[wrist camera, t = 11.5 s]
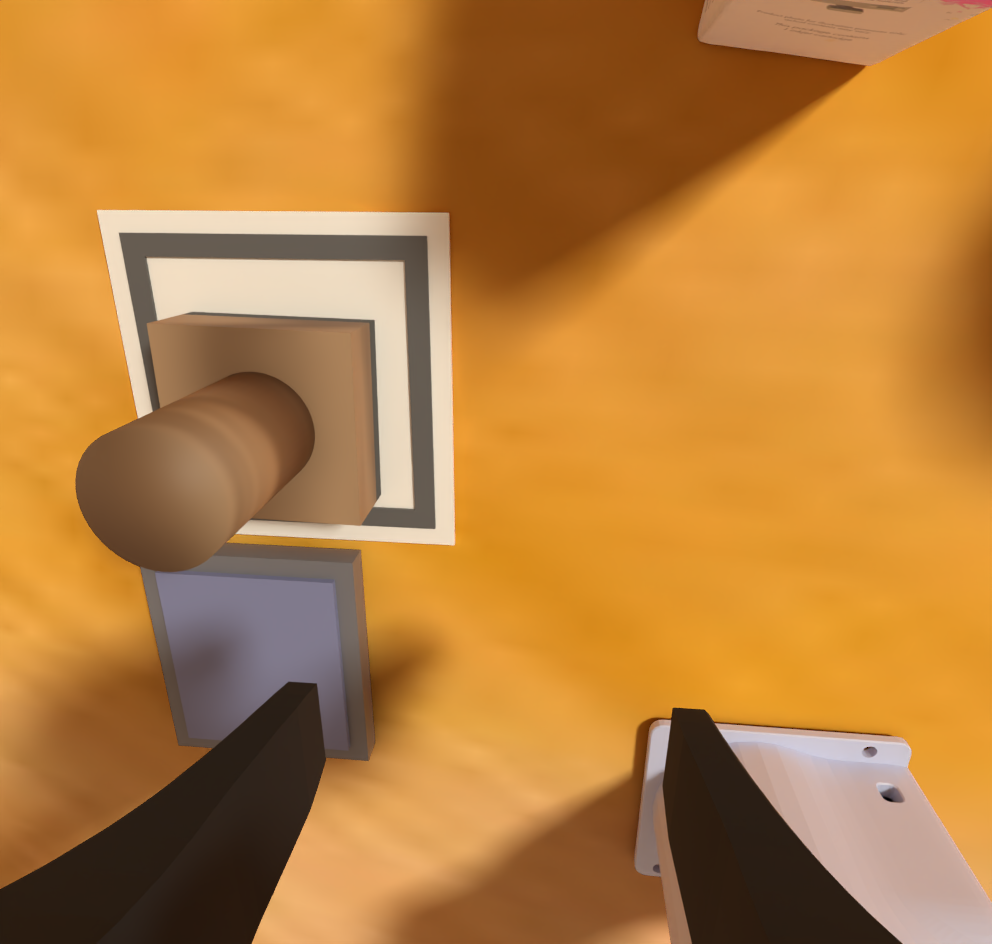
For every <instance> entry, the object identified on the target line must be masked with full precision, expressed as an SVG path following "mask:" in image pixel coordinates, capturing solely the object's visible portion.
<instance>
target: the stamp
mask: <svg viewBox="0 0 992 944" xmlns="http://www.w3.org/2000/svg"><path fill="white" fill-rule="evenodd" d="M147 329H148V335H149V341H150V347H151V354H152V360H153V366H154V372H155V378H156V384H157V390H158V397H159V403H160V409H157V410H155V411H153V412H151V413H149V414H147V415H145V416H143V417H141V418H138V419H136V420H134V421H132V422H130V423H128V424H126V425H124V426H122V427H119V428H117V429H115V430H113V431H111V432H109V433H107V434H105V435H103V436H101V437H99V438H98V439H97V440H95V441H94V442H93V443H92V444H91V445H90V446H89V447H88V448H87V449H86V451H85V452H84V454H83V455H82V457H81V459H80V461H79V464H78V468H77V472H76V494H77V499H78V503H79V506H80V509H81V511H82V514H83V516H84V518H85V520H86V521H87V523H88V525H89V527H90V528H91V529H92V531H93V532H94V534H95V535H96V536H97V537H98V538H99V539H100V540H101V542H103V543H104V544H105V545H106V546H107V547H108V548H109V549H110V550H112V551H113V552H114V553H115V554H117V555H118V556H120V557H121V558H123V559H125V560H126V561H128V562H131V563H133V564H135V565H137V566H140V567H143V568H146V569H150V570H153V571H160V572H179V571H185V570H189V569H192V568H194V567H197V566H199V565H201V564H202V563H204V562H206V561H207V560H208V559H209V558H210V557H212V556H213V555H214V554H215V553H216V552H217V551H218V550H219V549H220V548H221V547H222V546H223V545H224V544H225V543H226V542H227V541H228V540H229V539H230V538H231V537H232V536H233V535H235V534H236V533H237V532H238V531H239V530H240V529H241V528H242V527H243V526H244V525H245V524H246V523H247V522H248V521H249V520H250V519H251V518H256V519H270V520H284V521H298V522H312V523H326V524H341V525H355V526H361V524H362V523H363V521H364V520H365V518H366V517H367V515H368V514H369V512H370V511H371V509H372V508H373V506H374V505H375V503H376V502H377V500H378V499H379V497H380V496H381V477H380V451H379V424H378V397H377V370H376V344H375V320H364V319H342V318H320V317H298V316H275V315H253V314H231V313H209V312H189V313H185V314H182V315H178V316H174V317H170V318H166V319H162V320H158V321H154V322H150V323H147Z"/></svg>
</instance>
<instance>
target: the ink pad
mask: <svg viewBox="0 0 992 944" xmlns="http://www.w3.org/2000/svg"><path fill="white" fill-rule="evenodd" d="M140 568H141V573H142V577H143V582H144V587H145V591H146V596H147V601H148V605H149V610H150V615H151V619H152V624H153V629H154V633H155V638H156V642H157V647H158V652H159V656H160V661H161V666H162V670H163V675H164V680H165V684H166V689H167V694H168V698H169V703H170V707H171V712H172V717H173V721H174V726H175V731H176V735H177V740H178V745H181V746H193V747H205V748H214V747H215V746H216V745H217V744H219V743H220V742H221V741H222V740H223V739H224V738H225V737H227V736H228V735H229V734H230V733H231V732H232V731H234V730H235V729H236V728H237V727H238V726H239V725H240V724H241V723H243V722H244V721H245V720H246V719H247V718H248V717H249V716H250V715H251V714H253V713H254V712H255V711H256V710H257V709H258V708H259V707H260V706H261V705H262V704H264V703H265V702H266V701H267V700H268V699H269V698H270V697H271V696H272V695H274V694H275V693H276V692H277V691H278V690H279V689H280V688H282V687H283V686H284V685H285V684H286V683H287V682H288V681H289V682H304V683H317V688H318V696H319V705H320V713H321V722H322V730H323V739H324V748H325V756H326V757H327V758H339V759H351V760H364V761H369V758H370V756H371V753H372V750H373V747H374V745H375V732H374V719H373V706H372V693H371V680H370V667H369V654H368V640H367V627H366V614H365V601H364V588H363V575H362V561H361V550H352V549H333V548H314V547H296V546H277V545H258V544H240V543H225V544H224V545H223V546H222V547H221V548H220V549H219V550H218V551H217V552H216V553H215V554H214V555H213V556H212V557H210V558H209V559H208V560H207V561H206V562H204V563H202V564H201V565H199V566H197V567H194V568H192V569H189V570H185V571H179V572H160V571H153V570H150V569H146V568H143V567H140Z"/></svg>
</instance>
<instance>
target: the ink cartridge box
mask: <svg viewBox="0 0 992 944" xmlns="http://www.w3.org/2000/svg"><path fill="white" fill-rule="evenodd" d="M990 8H992V0H705V3H704V7H703V11H702V15H701V19H700V24H699V28H698V39H699V41H700V42H704V43H708V44H714V45H722V46H730V47H737V48H745V49H752V50H760V51H768V52H776V53H783V54H790V55H797V56H804V57H811V58H817V59H824V60H831V61H838V62H845V63H852V64H859V65H867V66H871V65H874V64H877V63H879V62H881V61H883V60H885V59H887V58H889V57H891V56H893V55H895V54H897V53H899V52H901V51H903V50H905V49H907V48H909V47H911V46H914V45H916V44H918V43H920V42H922V41H924V40H926V39H928V38H930V37H932V36H934V35H936V34H938V33H940V32H943V31H945V30H947V29H949V28H951V27H953V26H955V25H957V24H959V23H961V22H963V21H965V20H967V19H969V18H972V17H974V16H976V15H978V14H980V13H982V12H984V11H986V10H988V9H990Z"/></svg>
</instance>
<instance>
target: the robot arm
mask: <svg viewBox="0 0 992 944" xmlns="http://www.w3.org/2000/svg"><path fill="white" fill-rule="evenodd" d="M866 747H870V748H869V749H865V750H863V749H864V748H866ZM911 751H912V750H911V748H910V747H909V745H908V744H907V742H906V740H904V739H903V738H900V737H894V736H881V735H867V734H853V733H840V732H826V731H812V730H799V729H785V728H772V727H758V726H744V725H731V724H717V723H714V722H713V720H712V718H711V717H710V715H709V714H708V713H707V712H706V711H705V710H700V709H686V708H673V710H672V718H671V720H657V721H655V722H653V723H652V724H651V726H650V728H649V735H648V744H647V752H646V761H645V770H644V778H643V787H642V795H641V804H640V812H639V821H638V830H637V838H636V847H635V855H634V863H635V869H636V870H637V872H639V873H641V874H643V875H649V876H660V877H661V880H662V886H663V893H664V900H665V907H666V914H667V920H668V927H669V934H670V941H671V944H992V902H991V901H990V899H989V897H988V896H987V894H986V893H985V891H984V889H983V888H982V886H981V884H980V883H979V881H978V880H977V878H976V876H975V875H974V873H973V872H972V870H971V868H970V867H969V865H968V864H967V862H966V860H965V859H964V857H963V856H962V854H961V852H960V851H959V849H958V848H957V846H956V844H955V843H954V841H953V840H952V838H951V836H950V835H949V833H948V832H947V830H946V828H945V827H944V825H943V824H942V822H941V820H940V819H939V817H938V815H937V814H936V812H935V811H934V809H933V807H932V806H931V804H930V803H929V801H928V799H927V798H926V796H925V795H924V793H923V791H922V790H921V788H920V787H919V785H918V783H917V782H916V780H915V779H914V777H913V775H912V774H911V772H910V771H909V769H908V768H907V767H908V764H909V760H910V757H911ZM325 761H326V756H325V748H324V739H323V730H322V722H321V713H320V705H319V696H318V688H317V683H304V682H289V681H288V682H287V683H286V684H285V685H284V686H283V687H282V688H280V689H279V690H278V691H277V692H276V693H275V694H274V695H272V696H271V697H270V698H269V699H268V700H267V701H266V702H265V703H264V704H262V705H261V706H260V707H259V708H258V709H257V710H256V711H255V712H254V713H253V714H251V715H250V716H249V717H248V718H247V719H246V720H245V721H244V722H243V723H241V724H240V725H239V726H238V727H237V728H236V729H235V730H234V731H232V732H231V733H230V734H229V735H228V736H227V737H225V738H224V739H223V740H222V741H221V742H220V743H219V744H217V745H216V746H215V747H214V748H213V749H212V750H211V751H209V752H208V753H207V754H206V755H205V756H203V757H202V758H201V759H200V760H199V761H197V762H196V763H195V764H194V765H192V766H191V767H190V768H189V769H187V770H186V771H185V772H184V773H182V774H181V775H180V776H179V777H177V778H176V779H175V780H174V781H172V782H171V783H170V784H169V785H167V786H166V787H165V788H163V789H162V790H161V791H159V792H158V793H157V794H155V795H154V796H152V797H151V798H150V799H148V800H147V801H146V802H144V803H143V804H141V805H140V806H138V807H137V808H136V809H134V810H133V811H131V812H130V813H128V814H127V815H125V816H124V817H122V818H121V819H119V820H118V821H117V822H115V823H114V824H112V825H110V826H109V827H107V828H106V829H104V830H103V831H101V832H99V833H98V834H96V835H94V836H93V837H91V838H90V839H88V840H86V841H85V842H83V843H81V844H80V845H78V846H76V847H75V848H73V849H71V850H70V851H68V852H66V853H65V854H63V855H62V856H60V857H58V858H57V859H55V860H53V861H52V862H50V863H48V864H46V865H44V866H43V867H41V868H39V869H37V870H35V871H34V872H32V873H30V874H28V875H26V876H24V877H23V878H21V879H19V880H17V881H15V882H13V883H11V884H9V885H7V886H5V887H4V888H2V889H0V944H252V941H253V939H254V936H255V934H256V931H257V929H258V926H259V924H260V921H261V919H262V917H263V915H264V912H265V910H266V908H267V906H268V904H269V901H270V899H271V897H272V895H273V893H274V890H275V888H276V886H277V884H278V881H279V879H280V877H281V875H282V873H283V870H284V868H285V866H286V864H287V861H288V859H289V857H290V855H291V853H292V850H293V848H294V846H295V844H296V841H297V839H298V837H299V835H300V832H301V830H302V828H303V826H304V823H305V821H306V819H307V816H308V814H309V812H310V809H311V806H312V803H313V800H314V797H315V794H316V791H317V788H318V785H319V781H320V778H321V775H322V771H323V768H324V765H325ZM657 864H658V865H657Z"/></svg>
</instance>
